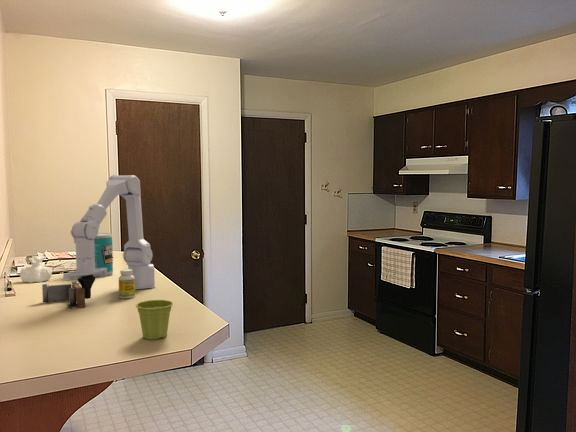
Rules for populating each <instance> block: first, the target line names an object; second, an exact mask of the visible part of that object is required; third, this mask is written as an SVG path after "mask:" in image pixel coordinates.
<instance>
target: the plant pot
mask: <svg viewBox="0 0 576 432" xmlns="http://www.w3.org/2000/svg"><path fill="white" fill-rule="evenodd" d="M173 305H174V301H171V300H167V299H166V300H165V299H150V300H144V301H140V302H138V303H136V304H135V308H137V313H138V315H139V320H140V328H141V332H142V333H141V334H142V338H143V339H144V338H145V339H147V340H159V339H160V338H166V337H167V335H168V332H169V331H168V330H169V322H170V321H169V320H170V314H171V311H172V307H173Z"/></svg>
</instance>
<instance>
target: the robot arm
mask: <svg viewBox="0 0 576 432" xmlns="http://www.w3.org/2000/svg"><path fill="white" fill-rule="evenodd" d="M141 190H142V189H141V180H140V178H138V177H137V176H136V175H133V174H132V175H131V174H129V175H115V174H112V175H110V176H109V178H108V179H107V180H106V188H105V189H104V191H103V193H102V195H101V196H100V198H99V200H98V201H97V203H95V204H92V205H90V206H89V207H88V209H87V210H86V212H85V214H84V215H83V216H82V217H81V219H80V220H79V221H76V222H75V223H74V224H73V225H72V226H71V227H72V228H71V230H70V234H71V236H72V238H73V243H74V244H75V268H76V271H72V272H67V273H63V274H62V275H63V279H62V280H63V281H66V282H67V281H71V280H76V279H77V281H78V282H79V284H80V286H81V287H82V288H84V289H85V300H89V299H91V297H92V287H93V285H94V283H95V281H96V278H95V277H93V275H99V274H107V268H95V249H94V238H95V237H96V236H97V235H98V233H99V229H100V225H101V223H102V222H103V221H104V219H105V218H106V216H107V213H108V212H107V209H108V207H110V205H111V204H112V203H113V201H114V200H115V199H116V198H117V197H118V196H121V197H122V198H123V199H124V200H125V205H126V206H125V208H126V218H127V230H128V231H127V233H128V235H127V236H128V241H126V243H125V244H124V246H123V247H124V248H123V252H122V253H123V254H122V258H123V261H124V262H125V263H126V265H127V266H128V267H127V269H131V270H132V275H133V276H134V278H135V290H142V289H151V288H156V285H155V283H156V282H155V266H154V264H153V263H151V261H152V260H153V255H154V254H153V250H152V249H151V248H152V247H151V243H149V242H148V241H147V240H145V239H144V229H143V228H144V227H143V213H142V212H143V211H142V199H141V196H142V191H141Z"/></svg>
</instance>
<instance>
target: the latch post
mask: <svg viewBox="0 0 576 432" xmlns="http://www.w3.org/2000/svg"><path fill="white" fill-rule="evenodd" d="M68 302H69V303H68V304H67V305H66V308H67V310H68V309H76V308H80V307H79V305H78V303H77V302H76V288H70V289H69V300H68Z"/></svg>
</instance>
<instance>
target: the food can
mask: <svg viewBox="0 0 576 432" xmlns="http://www.w3.org/2000/svg"><path fill="white" fill-rule="evenodd" d="M94 249H95V268H107V274H99V275H93V277H95V279H96V278H106V277H110V276H112V275H113V273H114V267H113V266H114V265H113V264H114V262H113V261H114V259H113V258H114V257H113V255H114V254H113V235H112V233H110V232H98V235H97V236H96V237H95V238H94Z"/></svg>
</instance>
